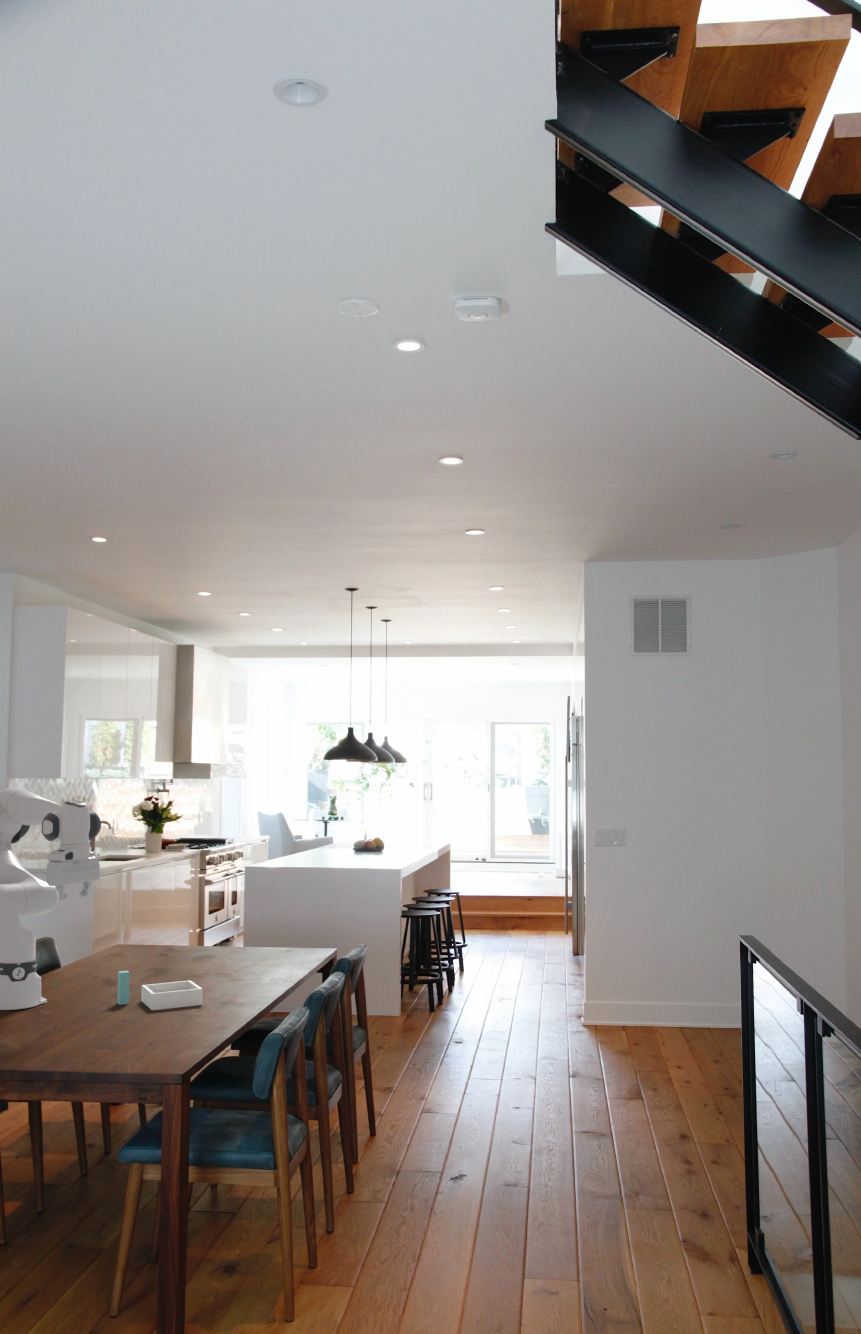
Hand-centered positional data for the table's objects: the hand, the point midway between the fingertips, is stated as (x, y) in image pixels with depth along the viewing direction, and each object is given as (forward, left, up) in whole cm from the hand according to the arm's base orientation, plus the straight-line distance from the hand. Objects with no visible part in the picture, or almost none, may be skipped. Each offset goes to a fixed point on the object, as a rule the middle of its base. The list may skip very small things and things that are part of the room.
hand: (73, 898), depth 322 cm
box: (-2, +31, -35) cm, 47 cm away
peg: (-9, +17, -35) cm, 40 cm away
